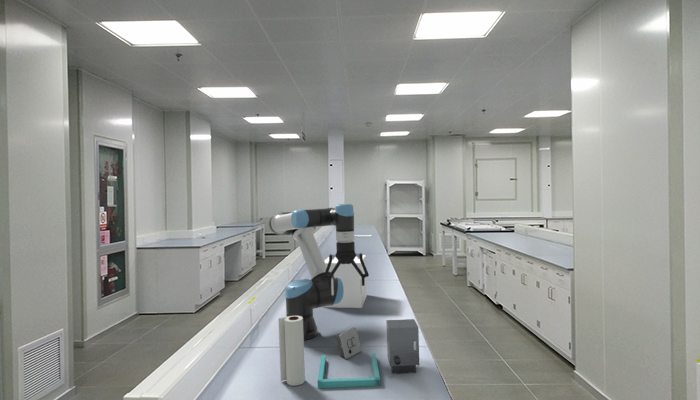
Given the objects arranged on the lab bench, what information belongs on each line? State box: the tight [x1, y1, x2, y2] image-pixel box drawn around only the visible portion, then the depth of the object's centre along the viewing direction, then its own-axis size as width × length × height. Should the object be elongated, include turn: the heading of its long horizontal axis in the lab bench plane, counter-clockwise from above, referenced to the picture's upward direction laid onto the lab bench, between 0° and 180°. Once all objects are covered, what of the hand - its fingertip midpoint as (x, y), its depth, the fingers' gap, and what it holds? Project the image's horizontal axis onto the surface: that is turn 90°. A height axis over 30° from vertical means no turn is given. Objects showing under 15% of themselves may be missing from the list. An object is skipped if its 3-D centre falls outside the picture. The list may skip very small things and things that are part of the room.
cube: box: [324, 254, 368, 309], centre depth 221 cm, size 25×21×24 cm
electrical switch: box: [335, 327, 362, 360], centre depth 149 cm, size 9×5×9 cm, turn 141°
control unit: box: [385, 318, 420, 374], centre depth 135 cm, size 10×10×16 cm
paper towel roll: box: [278, 316, 306, 387], centre depth 129 cm, size 7×6×21 cm
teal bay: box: [317, 352, 381, 389], centre depth 134 cm, size 20×20×2 cm
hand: (346, 294), depth 161 cm, fingers open, 11 cm apart
